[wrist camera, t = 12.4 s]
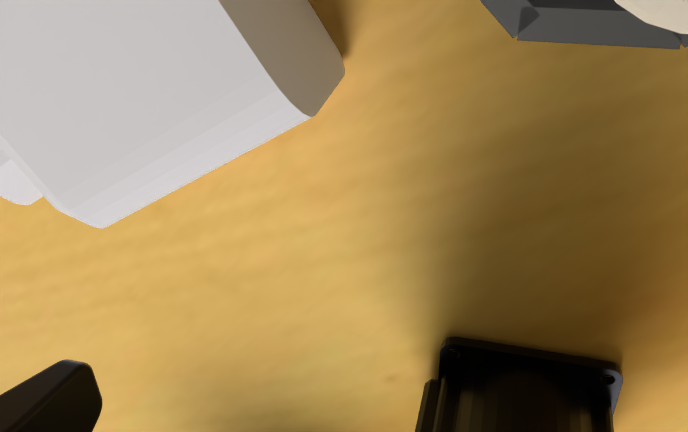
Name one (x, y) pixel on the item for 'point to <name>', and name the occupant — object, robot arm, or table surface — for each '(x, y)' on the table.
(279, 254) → the table surface
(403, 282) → the table surface
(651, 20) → the pepper shaker
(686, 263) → the table surface
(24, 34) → the charger
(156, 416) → the table surface
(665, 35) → the grey octagonal tray
